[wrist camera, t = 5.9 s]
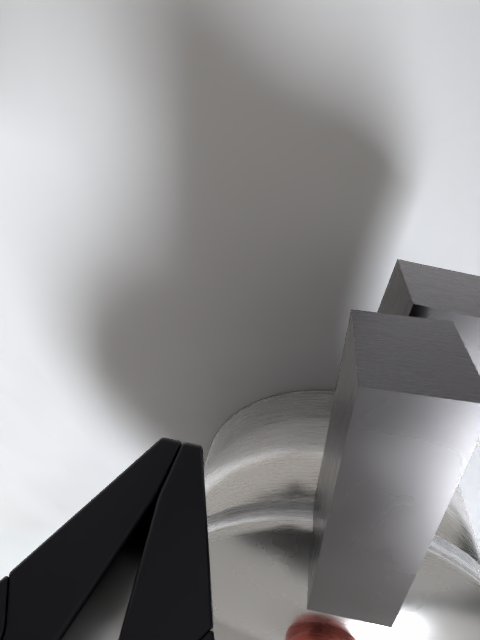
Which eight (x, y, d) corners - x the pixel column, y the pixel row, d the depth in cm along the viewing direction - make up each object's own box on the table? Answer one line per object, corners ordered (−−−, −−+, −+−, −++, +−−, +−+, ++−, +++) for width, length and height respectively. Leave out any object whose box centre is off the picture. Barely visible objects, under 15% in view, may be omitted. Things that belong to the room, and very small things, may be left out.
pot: (383, 605, 23) (394, 723, 19) (192, 552, 24) (163, 654, 20) (609, 276, 12) (753, 381, 8) (249, 203, 13) (211, 264, 9)
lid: (448, 712, 17) (464, 804, 15) (172, 646, 19) (152, 720, 16) (727, 353, 8) (876, 459, 6) (132, 284, 9) (74, 345, 7)
